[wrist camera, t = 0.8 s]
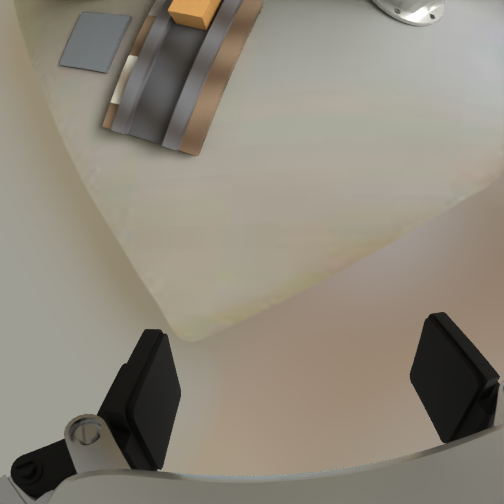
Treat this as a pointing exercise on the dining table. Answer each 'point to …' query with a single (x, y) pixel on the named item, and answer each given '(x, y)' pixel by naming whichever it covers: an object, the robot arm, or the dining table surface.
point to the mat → (95, 41)
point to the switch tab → (194, 12)
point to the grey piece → (179, 75)
